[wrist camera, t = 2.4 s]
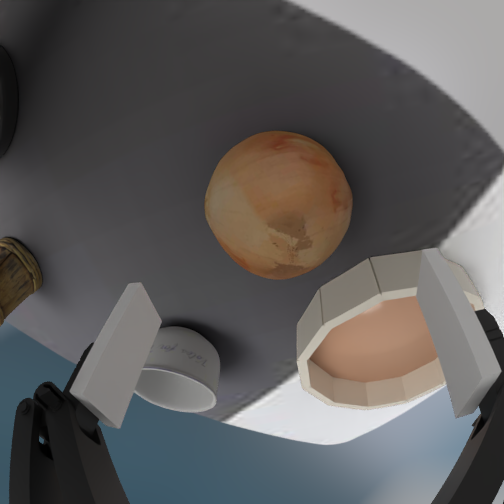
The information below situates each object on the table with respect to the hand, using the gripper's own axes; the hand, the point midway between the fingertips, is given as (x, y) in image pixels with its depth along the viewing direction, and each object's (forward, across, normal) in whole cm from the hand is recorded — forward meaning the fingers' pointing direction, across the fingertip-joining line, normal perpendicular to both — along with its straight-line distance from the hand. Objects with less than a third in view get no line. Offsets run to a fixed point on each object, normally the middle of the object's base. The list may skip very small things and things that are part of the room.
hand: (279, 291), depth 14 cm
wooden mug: (+13, -35, -2) cm, 38 cm away
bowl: (+14, +10, -20) cm, 26 cm away
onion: (+14, 0, 0) cm, 14 cm away
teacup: (+14, -17, -19) cm, 29 cm away
